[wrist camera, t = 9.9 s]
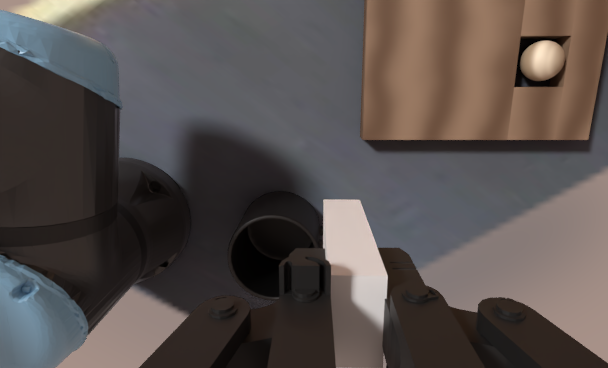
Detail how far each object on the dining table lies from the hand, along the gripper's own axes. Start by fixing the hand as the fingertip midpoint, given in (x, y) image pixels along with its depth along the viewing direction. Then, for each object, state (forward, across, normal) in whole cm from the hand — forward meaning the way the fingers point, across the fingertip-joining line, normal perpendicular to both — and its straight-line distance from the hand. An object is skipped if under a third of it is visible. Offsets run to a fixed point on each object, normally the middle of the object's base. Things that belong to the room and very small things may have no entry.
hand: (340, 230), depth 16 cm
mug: (+30, -4, -11) cm, 32 cm away
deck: (+29, +16, +8) cm, 34 cm away
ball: (+27, +22, +8) cm, 36 cm away
